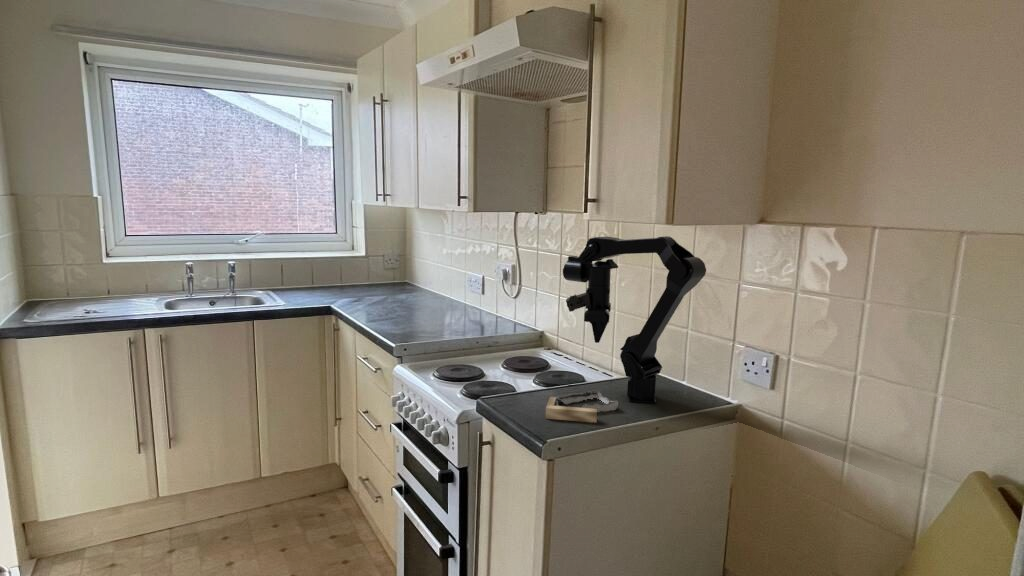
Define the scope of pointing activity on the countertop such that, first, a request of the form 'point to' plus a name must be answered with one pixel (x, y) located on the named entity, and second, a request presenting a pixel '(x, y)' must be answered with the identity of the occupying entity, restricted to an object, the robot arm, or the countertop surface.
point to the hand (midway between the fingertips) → (597, 342)
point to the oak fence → (569, 412)
